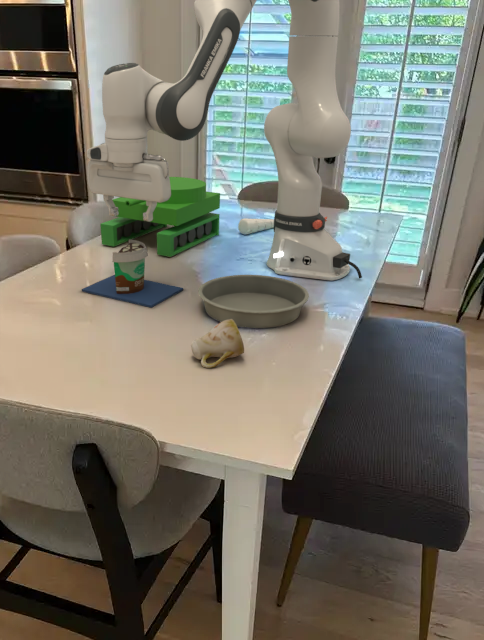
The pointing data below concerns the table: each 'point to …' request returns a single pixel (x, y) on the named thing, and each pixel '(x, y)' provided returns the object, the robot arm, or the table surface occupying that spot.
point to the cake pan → (253, 300)
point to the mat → (146, 297)
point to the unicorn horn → (254, 225)
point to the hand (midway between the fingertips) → (130, 218)
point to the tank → (168, 218)
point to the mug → (219, 343)
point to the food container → (130, 267)
